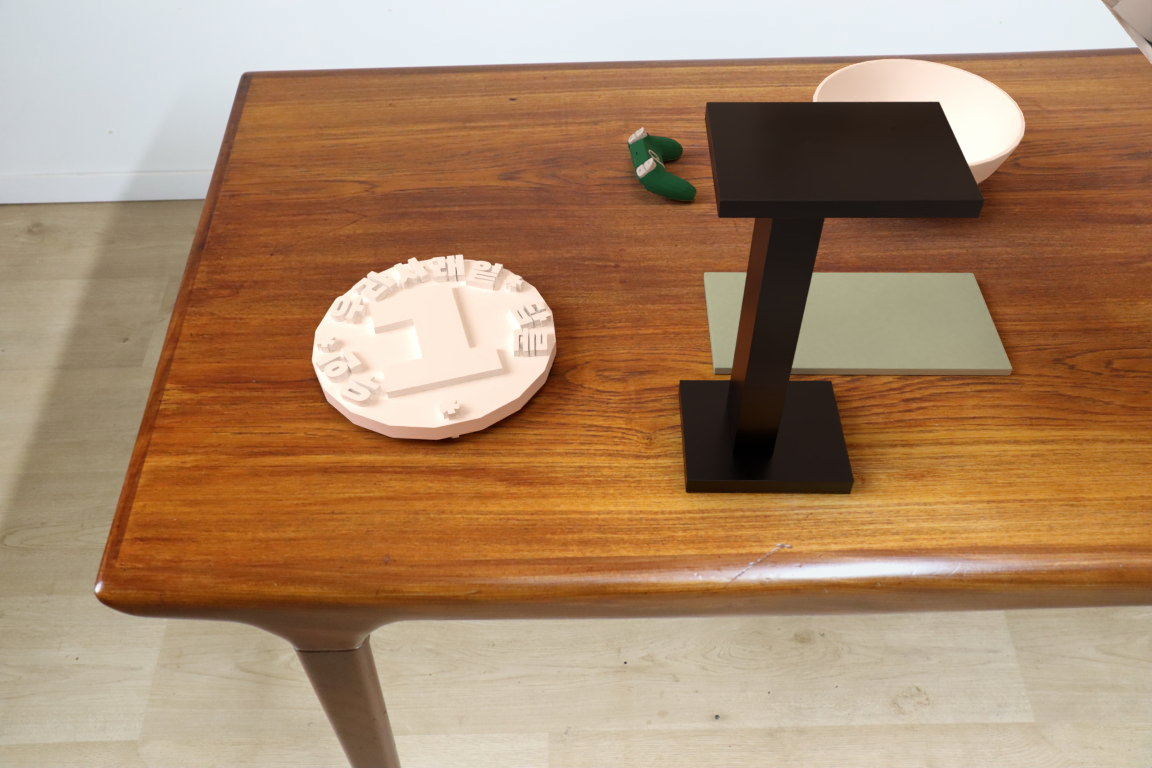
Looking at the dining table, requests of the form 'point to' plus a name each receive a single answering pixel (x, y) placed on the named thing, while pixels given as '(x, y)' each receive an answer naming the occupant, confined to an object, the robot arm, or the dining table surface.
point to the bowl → (968, 101)
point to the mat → (874, 325)
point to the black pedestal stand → (803, 272)
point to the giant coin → (434, 348)
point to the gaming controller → (658, 165)
